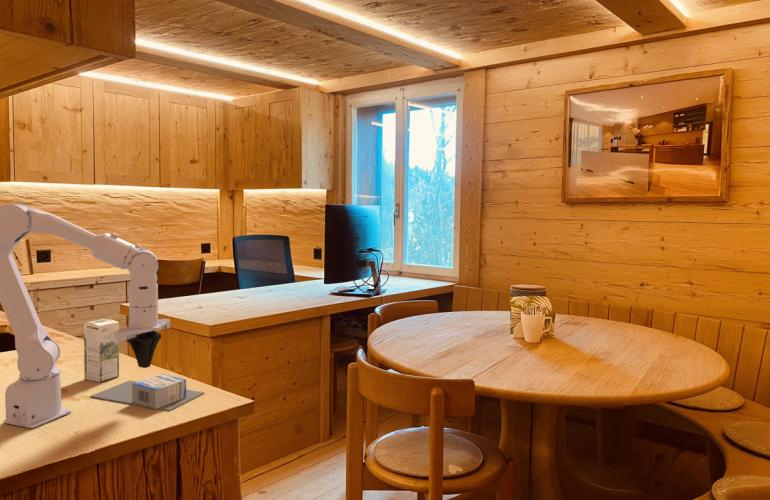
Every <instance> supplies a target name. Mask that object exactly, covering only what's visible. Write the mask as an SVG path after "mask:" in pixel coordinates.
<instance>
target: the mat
mask: <svg viewBox="0 0 770 500" xmlns="http://www.w3.org/2000/svg"><path fill="white" fill-rule="evenodd" d="M135 382H137V380H136V381H135V380H127V381H125V382H122V383H120V384H118V385H115V386H111V387H109V388H106V389H104V390H101V391H100V392H97V393H93V394H92V395H90V396H89V397H90V398H92V399H98V400H103V401H108V402H109V401H110V402H115V403H116V402H117V403H121V404H127V405H132V406H133V405H134V406H138V407H143V408H149V409H154V410H155V408H152V407H148V406H145V405H141V404H138V403H134V402H132V383H135ZM203 395H205V392H203V391H199V390H197V391H196V390H191V389H186V398H183V399H181V400H178V401H176V402H173V403H171V404H168V405H166V406H163V407H161V408H158V409H157V410H161V411H166V412H171V411H173V410H175V409H177V408H179V407H181V406H183V405H185V404H187V403H189V402H191V401H192V399H193V400H195V399H197V398H199V397H200V396H203ZM196 397H197V398H196ZM194 398H195V399H194ZM190 400H191V401H190ZM188 401H189V402H188ZM186 402H187V403H186ZM184 403H185V404H184Z"/></svg>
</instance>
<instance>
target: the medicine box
mask: <svg viewBox="0 0 770 500" xmlns="http://www.w3.org/2000/svg"><path fill="white" fill-rule="evenodd" d="M186 390H187V380H186V379H184V378H180V377H178V376H177V377H176V376H172V375H169V374H164V373H161V374H158V375H155V376H151V377H148V378H146V379H145V378H144V379H142V380H139V381H136V382H135V383H132V402H134V403H138V404H141V405H145V406H148V407H147V408H149V407H152V408H151V409H154V408H155V409H156V410H159V409H158V408H161V407H163V406H166V405H168V404H171V403H173V402H176V401H178V400H181V399H183V398H186ZM155 409H154V410H155Z"/></svg>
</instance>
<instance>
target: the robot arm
mask: <svg viewBox="0 0 770 500" xmlns="http://www.w3.org/2000/svg"><path fill="white" fill-rule="evenodd" d="M29 233H30V234H32V235H33V234H52V235H54V236H57V237H59V238H62V239H65V240H67V241H70V242H72V243H74V244H76V245H80V246H83V248H87V249H89V250H90V251H91V255H92V257H93V258H95V259H96V260H100V261H101V262H104V263H107V264H109V265H111V266H113V267H116V268H118V269H120V270H128V272H129V274H130V277H129V278H130V283H129V285H128V292H129V295H128V296H129V297H128V298H129V299H128V303H129V309H128V311H129V312H128V313H129V325H128V326H126V327H124V328H122V329H119V331H117V332H115V341H119V343H123V342H126V341H127V343H129V345H130V347H131V348H132V351H133V353H134V356H135V359H136V362H137V366H138V368H142V369H147V368H150V367H151V364H152V360H153V356H154V352H155V350H156V348H157V345H158V343H159V342H160V340H161V338H162V333H160V332H157V331H161V330H164V329H170V328H171V319H169V318H161V319H159V291H158V290H159V288H158V287H159V284H158V283H157V281H158V275H157V272H158V270H159V264H158V258H157V256H156V255H155V253H154V252H152V251H151V250H149V248H143V247H142V245H141V244H138V243H136V244H133V243H131V242H128V241H127V240H124V239H122V238H119V234H117V233H115V232H112V233H108V232H103V233H100V234H95V233H93V232H92V231H90V230H87V229H85V228H84V227H82V226H79V225H76V224H74V223H73V222H70V221H68V220H66V219H64V218H62V217H60V216H58V215H55V214H54V213H51V212H49V211H46V210H43V209H39V208H36V207H31V206H29V205H27V204H25V203H18V202H16V203H11V204H10V203H9V204H2V205H0V305H1V307H2V309H3V312H4V314H5V316H6V319H7V321H8V323H9V326H10V328H11V330H12V333H13V335H14V343H15V344H14V346H15V351H16V353H17V357H18V359H17V363H16V364H17V370H18V372H19V377H18V378H17V380H15V381H14V382H12V383H11V384H9V385H8V386H7V387H6V388H5V393H4V398H5V399H4V400H5V402H4V403H5V419H3V420H2V421H3V424H7V425H9V424H10V425H13V426H18V427H22V428H27V429H34V428H36V427H39V426H42V425H44V424H46V423H48V422H51V421H54V420H56V419H58V418H61V417H63V416H65V415H69V414H70V413H72V410H71V409H68V408H62V389H61V387H62V385H61V384H62V383H61V369H60V368H59V367H58V366H57V364H56V362H57V361H58V360H59V358H60V355H61V348H60V345H59V344H58V343H57V342H56V341H55V340H54V339H53V338H51V336H50V334H49V332H48V330H47V329H46V328H45V327H44V326H43V324H42V322H41V321H40V318H39V315H38V313H37V311H36V309H35V306H34V303H33V301H32V298H31V296H30V294H29V291H28V288H27V287H26V284H25V282H24V280H23V277H22V275H21V271H19V267H18V265H17V262H16V260H15V257H14V256H13V253H14V251H15V249H16V248H17V246H18V245H19V243H20V241H21V240H22V239H23V238H24V237H25V236H27V235H28V234H29Z"/></svg>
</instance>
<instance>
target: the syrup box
mask: <svg viewBox="0 0 770 500" xmlns="http://www.w3.org/2000/svg"><path fill="white" fill-rule="evenodd" d="M117 331H120V322H119V321H117V320H113V319H109V318H102V319H97V320H93V321H87V322H84V323H83V347H84V349H83V351H84V353H83V354H84V357H83V358H84V359H83V360H84V367H83V368H84V380H86V381H87V380H88V381H92V382H96V383H103V382H105V381H110V380H112V379H115V378H119V377H120V342H119V341H115V332H117Z"/></svg>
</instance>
